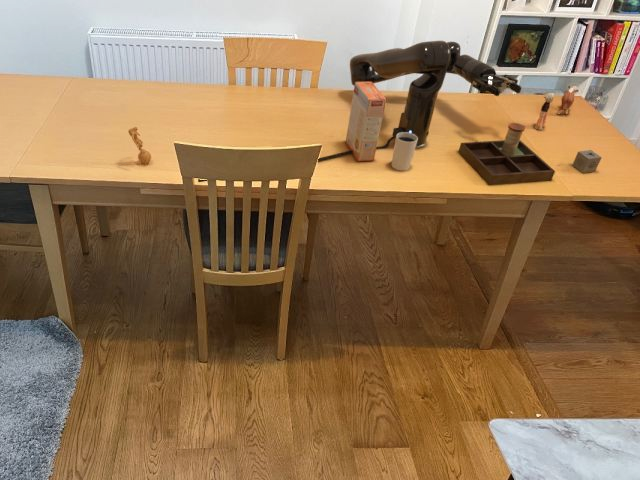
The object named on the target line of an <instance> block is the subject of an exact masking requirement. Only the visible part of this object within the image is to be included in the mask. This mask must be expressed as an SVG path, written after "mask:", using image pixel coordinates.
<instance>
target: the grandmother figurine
mask: <svg viewBox="0 0 640 480" xmlns="http://www.w3.org/2000/svg"><path fill="white" fill-rule="evenodd" d="M543 98H544V102H543V104H542V106H541V108H540V112H539V116H538V117H539V118H538V119H537V121H536V123H535V124H534V129H535V130H538V131H543V127H545V126H546V124H547V119H548V112H549V110H550V108H551V107H550V106H551V104H552V103H553V101H554V98H555V93H553V92H548V93H546V94H545V95H544V96H543Z"/></svg>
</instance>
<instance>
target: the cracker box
mask: <svg viewBox="0 0 640 480" xmlns="http://www.w3.org/2000/svg"><path fill="white" fill-rule="evenodd" d="M353 86H354V85H353ZM351 99H352V100H351V106H350V111H349V112H350V113H349V118H348V125H347V130H346V136H345V143H346V145H347V147H348V149H350V150H353V153H352V155H353V156H354V157H355V159H356V161H357V162H369V161H370V162H371V161H375V158H376V157H375V156H376V151H377V149H376V147H378V141H379V137H380V132H381V127H382V121H383V117H384V112H385V106H386V101H387V99H386V97H385V96H384V94H383V93H381V91H380V90H379V89H378V88H377V86H376V85H375V83H374V84H373V83H372V82H369V81H368V82H355V86H354V88H353V93H352V98H351Z"/></svg>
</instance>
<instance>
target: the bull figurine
mask: <svg viewBox="0 0 640 480" xmlns="http://www.w3.org/2000/svg"><path fill="white" fill-rule="evenodd" d="M567 87H568V89H567V90H566V91H564V93H563V95H562V97H561V103H560V105H559V110H558V112H557V115H561V112H562V111H563V109H564V110H565V112H564V115H568V113H569V112H568V111H570V107H571V106H573V104H574V101H575V94H577V93H578V92H579V89H578V87H577V86H575V85H573V86H571V85H568V86H567Z"/></svg>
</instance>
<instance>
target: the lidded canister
mask: <svg viewBox="0 0 640 480" xmlns="http://www.w3.org/2000/svg"><path fill="white" fill-rule="evenodd" d="M525 130H526V126H525V125H523V124H521V123H517V122H510V123H509V124H508V126H507V132H506V135H505V138H504V143H503V146H502V149H501V151H502V152H504V153H505V154H506V155H507V156H514V154H515V152H516V149H517V146H518V143H519V141H520V140H521V137H522V135H523V133H524V132H525Z"/></svg>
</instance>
